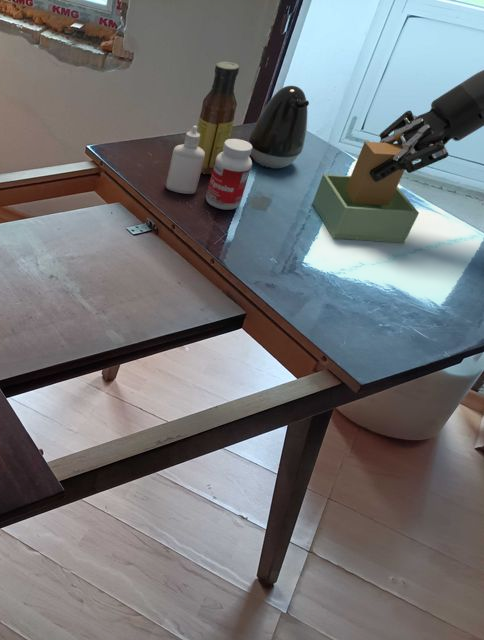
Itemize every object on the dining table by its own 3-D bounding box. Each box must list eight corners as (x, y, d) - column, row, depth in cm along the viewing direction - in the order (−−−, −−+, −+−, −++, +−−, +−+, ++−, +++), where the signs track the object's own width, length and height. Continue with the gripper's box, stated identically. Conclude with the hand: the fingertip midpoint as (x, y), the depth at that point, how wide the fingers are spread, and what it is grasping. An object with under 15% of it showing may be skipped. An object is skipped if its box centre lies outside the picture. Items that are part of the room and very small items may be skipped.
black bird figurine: (260, 176, 132) (284, 98, 122) (235, 153, 140) (256, 77, 130) (306, 173, 135) (334, 96, 125) (279, 150, 142) (303, 76, 132)
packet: (388, 205, 116) (411, 155, 110) (353, 203, 116) (374, 153, 110) (379, 192, 119) (400, 143, 113) (344, 190, 119) (364, 141, 113)
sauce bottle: (222, 165, 135) (249, 61, 122) (221, 179, 131) (250, 73, 118) (188, 160, 136) (212, 57, 123) (187, 174, 132) (211, 68, 119)
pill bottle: (198, 200, 124) (212, 142, 116) (217, 191, 127) (233, 133, 120) (227, 214, 120) (244, 155, 113) (246, 204, 124) (264, 146, 116)
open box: (378, 207, 125) (391, 178, 122) (404, 243, 116) (419, 212, 112) (312, 203, 125) (323, 173, 121) (332, 238, 116) (345, 207, 112)
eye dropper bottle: (185, 198, 124) (201, 135, 116) (161, 186, 127) (174, 124, 119) (200, 191, 126) (215, 128, 118) (175, 180, 129) (189, 118, 121)
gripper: (445, 69, 110) (342, 136, 118) (487, 103, 99) (372, 174, 107) (462, 103, 114) (361, 166, 121) (504, 140, 103) (391, 206, 111)
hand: (367, 169), depth 114 cm, fingers closed on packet, 4 cm apart
